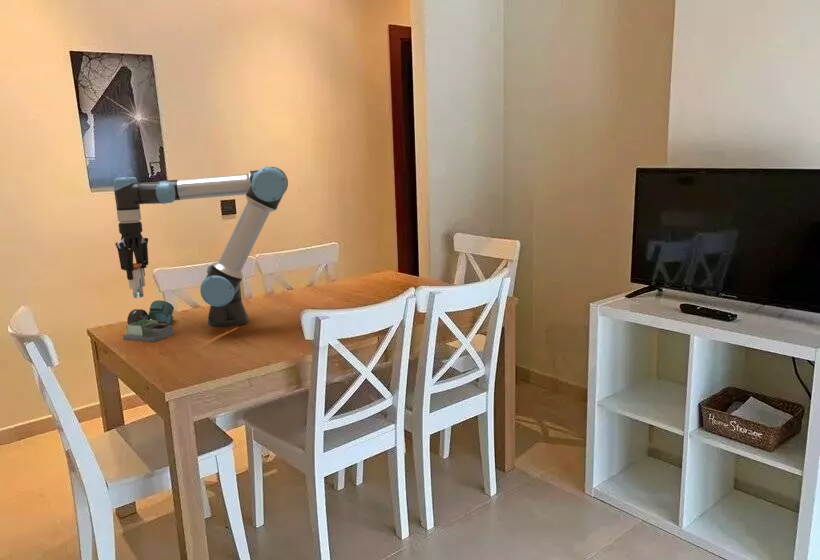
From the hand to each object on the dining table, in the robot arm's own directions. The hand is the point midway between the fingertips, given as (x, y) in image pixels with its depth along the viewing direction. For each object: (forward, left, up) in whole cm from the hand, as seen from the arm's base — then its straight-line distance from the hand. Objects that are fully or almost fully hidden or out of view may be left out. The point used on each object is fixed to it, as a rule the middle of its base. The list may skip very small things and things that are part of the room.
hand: (137, 287), depth 228 cm
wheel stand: (+6, -5, -18) cm, 20 cm away
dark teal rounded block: (+6, -21, -16) cm, 27 cm away
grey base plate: (-3, 0, -18) cm, 18 cm away
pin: (0, 0, -4) cm, 4 cm away
